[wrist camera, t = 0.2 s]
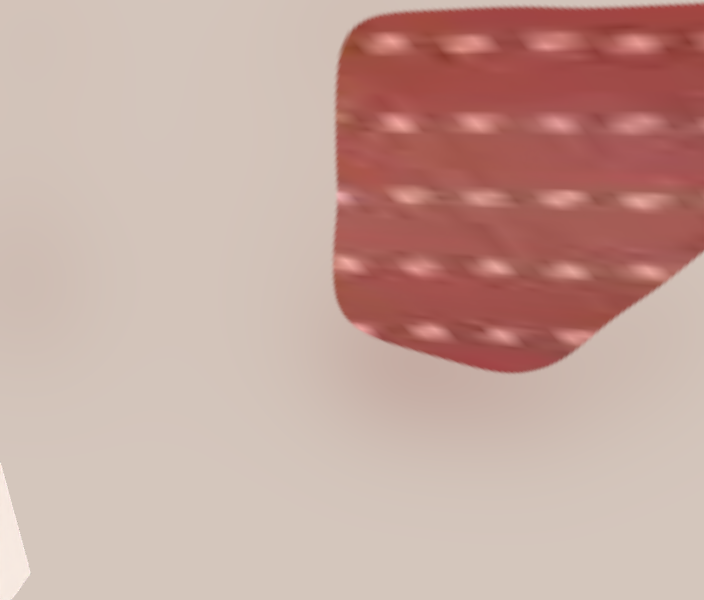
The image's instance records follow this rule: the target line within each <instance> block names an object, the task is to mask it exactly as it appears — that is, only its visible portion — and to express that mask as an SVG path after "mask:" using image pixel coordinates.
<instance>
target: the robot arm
mask: <svg viewBox="0 0 704 600" xmlns="http://www.w3.org/2000/svg"><path fill="white" fill-rule="evenodd" d="M30 574H31V572H30V569H29V564H28V561H27V557H26V554H25V550H24V546H23V542H22V539H21V535H20V531H19V528H18V524H17V521H16V517H15V513H14V510H13V506H12V502H11V498H10V495H9V491H8V488H7V484H6V480H5V477H4V473H3V469H2V466H1V462H0V600H12V599H13V597H14V596H15V595H16V593H17V592H18V590H19V589H20V588H21V586H22V585H23V584H24V582H25V581H26V580H27V578H28V577H29V575H30Z"/></svg>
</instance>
